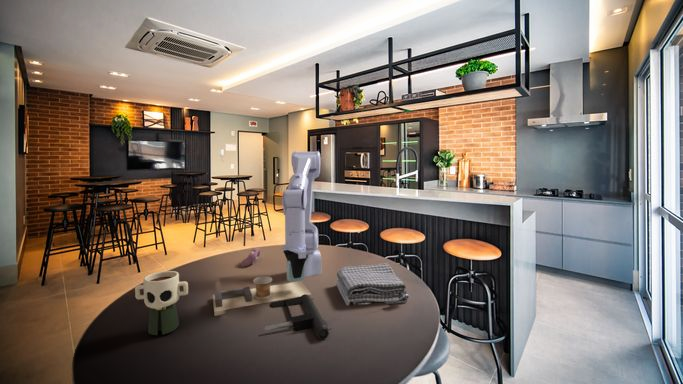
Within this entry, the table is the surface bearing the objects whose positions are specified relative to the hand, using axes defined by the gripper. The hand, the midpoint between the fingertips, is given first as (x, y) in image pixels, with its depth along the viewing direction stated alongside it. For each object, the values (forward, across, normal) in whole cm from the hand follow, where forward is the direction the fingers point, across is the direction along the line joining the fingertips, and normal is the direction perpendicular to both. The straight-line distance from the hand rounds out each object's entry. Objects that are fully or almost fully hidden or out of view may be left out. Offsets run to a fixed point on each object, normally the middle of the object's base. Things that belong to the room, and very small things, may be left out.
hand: (295, 275), depth 92 cm
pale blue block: (+1, 0, 0) cm, 1 cm away
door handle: (+6, +15, -6) cm, 18 cm away
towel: (+6, +10, +20) cm, 23 cm away
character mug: (+6, +7, -34) cm, 35 cm away
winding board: (+6, -1, -10) cm, 11 cm away
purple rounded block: (+6, -35, -7) cm, 36 cm away
